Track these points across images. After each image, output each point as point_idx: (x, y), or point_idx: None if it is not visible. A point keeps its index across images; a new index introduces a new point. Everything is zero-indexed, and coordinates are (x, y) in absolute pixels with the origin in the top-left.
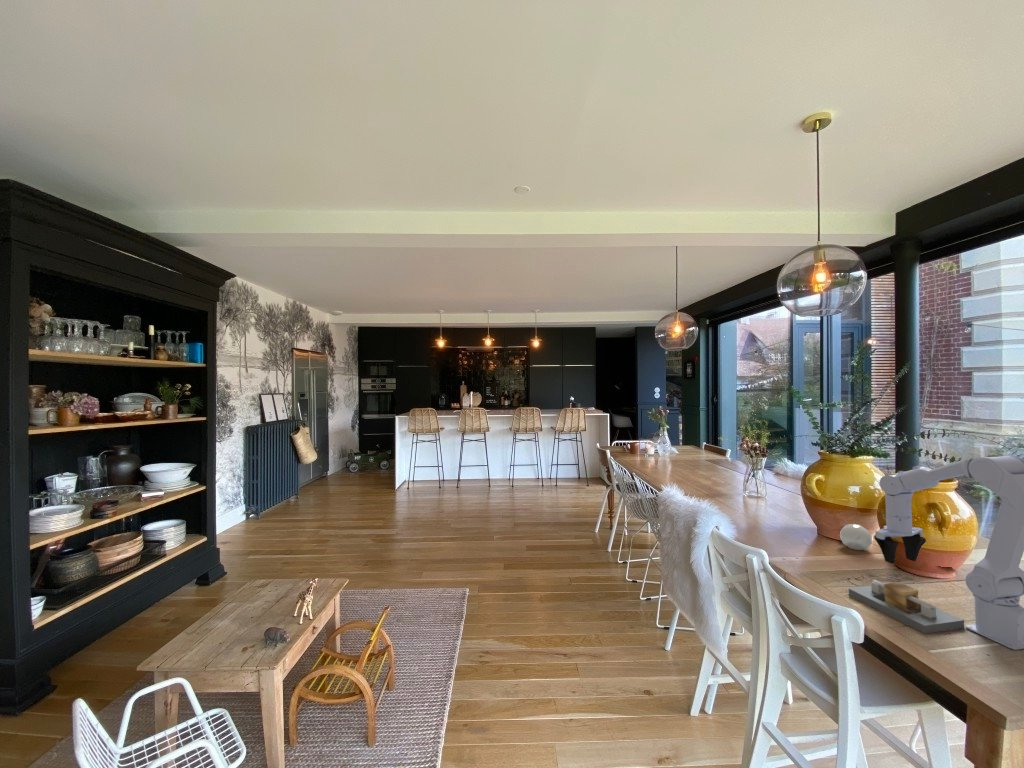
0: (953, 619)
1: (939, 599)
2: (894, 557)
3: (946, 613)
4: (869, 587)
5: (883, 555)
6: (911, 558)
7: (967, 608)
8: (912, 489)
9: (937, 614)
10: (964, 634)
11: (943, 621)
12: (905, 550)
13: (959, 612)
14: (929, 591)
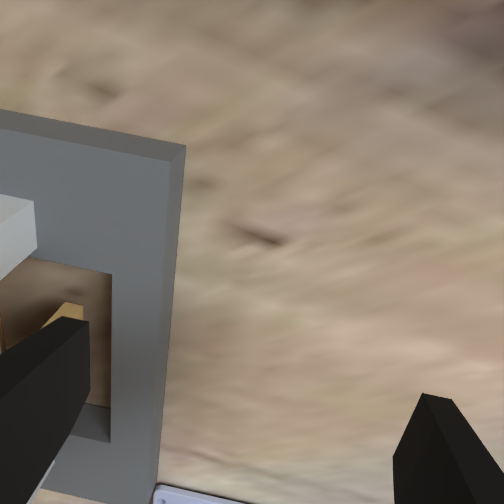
0: (107, 495)
1: (399, 349)
2: (34, 472)
3: (136, 471)
4: (11, 151)
5: (1, 354)
6: (406, 459)
7: (400, 439)
8: None
9: (86, 457)
10: None
11: (48, 482)
12: (463, 486)
13: (306, 436)
14: (496, 278)
